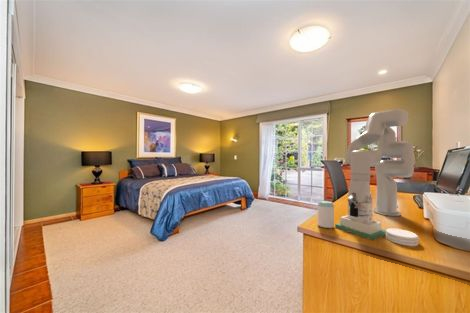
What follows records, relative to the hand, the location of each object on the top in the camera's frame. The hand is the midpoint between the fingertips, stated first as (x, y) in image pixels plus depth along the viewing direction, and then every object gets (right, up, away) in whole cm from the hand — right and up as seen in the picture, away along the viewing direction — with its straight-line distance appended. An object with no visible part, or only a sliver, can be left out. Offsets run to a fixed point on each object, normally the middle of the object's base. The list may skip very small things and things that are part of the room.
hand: (359, 214), depth 88 cm
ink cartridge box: (0, -6, 0) cm, 6 cm away
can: (-13, -8, +5) cm, 16 cm away
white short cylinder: (+10, -8, -10) cm, 16 cm away
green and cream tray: (0, -7, 0) cm, 7 cm away
